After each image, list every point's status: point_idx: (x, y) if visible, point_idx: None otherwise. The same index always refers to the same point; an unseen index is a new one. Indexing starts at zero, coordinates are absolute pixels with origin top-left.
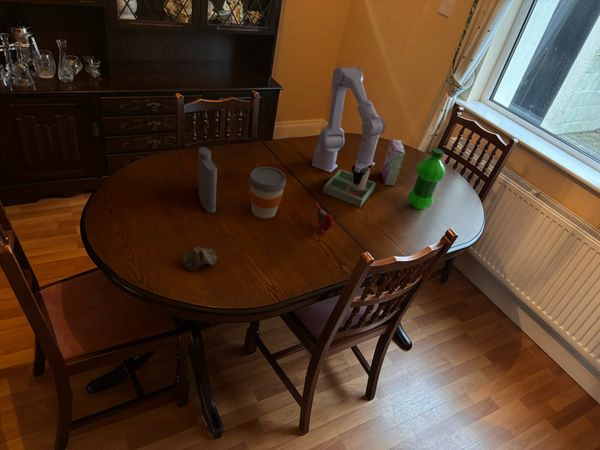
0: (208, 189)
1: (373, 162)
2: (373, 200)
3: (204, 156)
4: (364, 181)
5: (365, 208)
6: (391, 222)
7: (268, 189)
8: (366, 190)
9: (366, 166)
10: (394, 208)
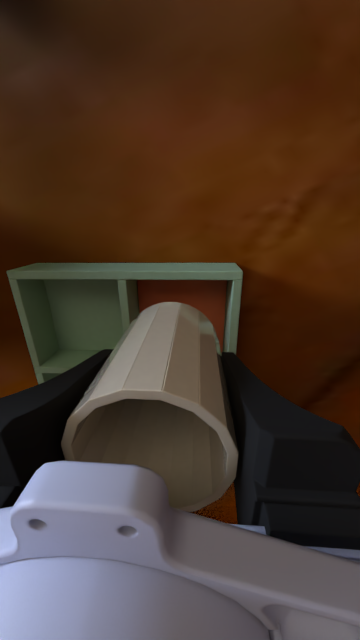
0: None
1: (34, 532)
2: (125, 228)
3: None
4: (197, 338)
5: (225, 236)
6: (278, 20)
7: None
8: (125, 287)
9: (291, 553)
10: (108, 75)
